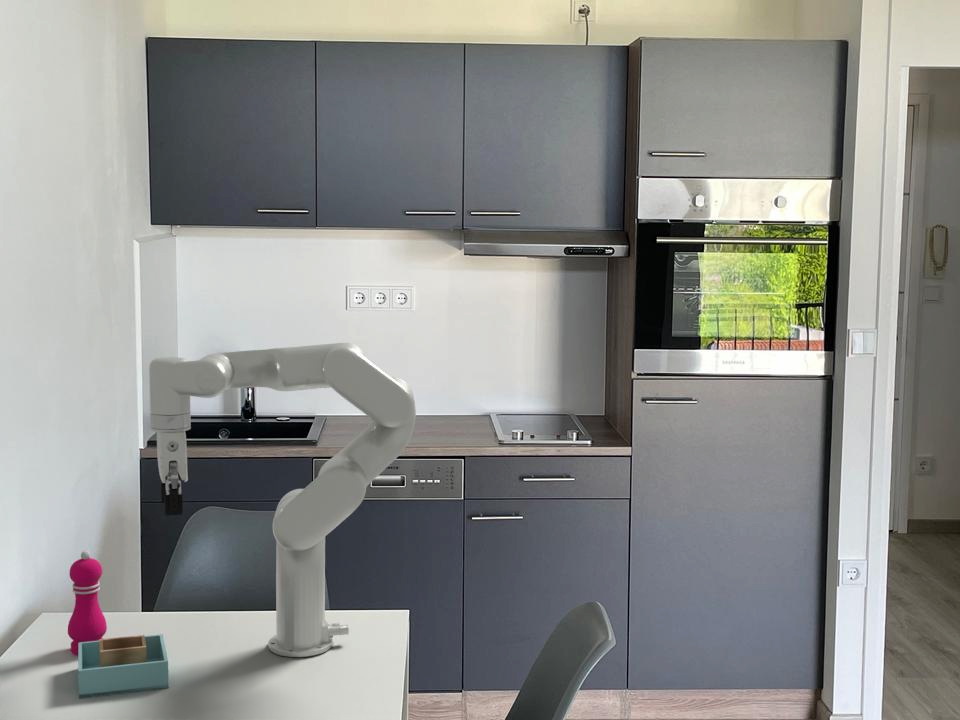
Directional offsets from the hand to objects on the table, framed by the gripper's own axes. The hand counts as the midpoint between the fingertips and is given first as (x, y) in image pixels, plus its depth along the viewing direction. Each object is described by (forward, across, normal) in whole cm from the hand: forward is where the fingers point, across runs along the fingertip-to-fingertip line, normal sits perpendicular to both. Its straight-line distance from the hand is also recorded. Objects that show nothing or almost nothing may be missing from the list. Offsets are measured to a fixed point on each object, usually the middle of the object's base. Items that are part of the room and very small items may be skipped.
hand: (171, 508), depth 216 cm
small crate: (+28, -12, +10) cm, 32 cm away
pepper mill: (+28, +4, +16) cm, 33 cm away
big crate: (+28, -12, +10) cm, 32 cm away
